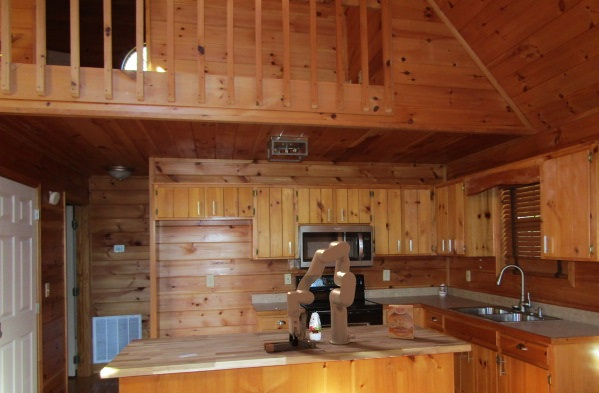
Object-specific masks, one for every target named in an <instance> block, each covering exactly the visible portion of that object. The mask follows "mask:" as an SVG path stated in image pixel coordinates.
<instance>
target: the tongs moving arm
mask: <svg viewBox="0 0 599 393" xmlns="http://www.w3.org/2000/svg"><path fill="white" fill-rule="evenodd" d="M311 340H312V339H309V340H306V341H300V340H299V341H300V342H299V346H293V342H290V343H281V344H270V345H266V350H265V352H266V353H272V352H273V353H274V352H280V351H281V352H282V351H289V350H295V349H296V350H297V349H298V350H299V349H307V348H313V347H312V341H311Z"/></svg>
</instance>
